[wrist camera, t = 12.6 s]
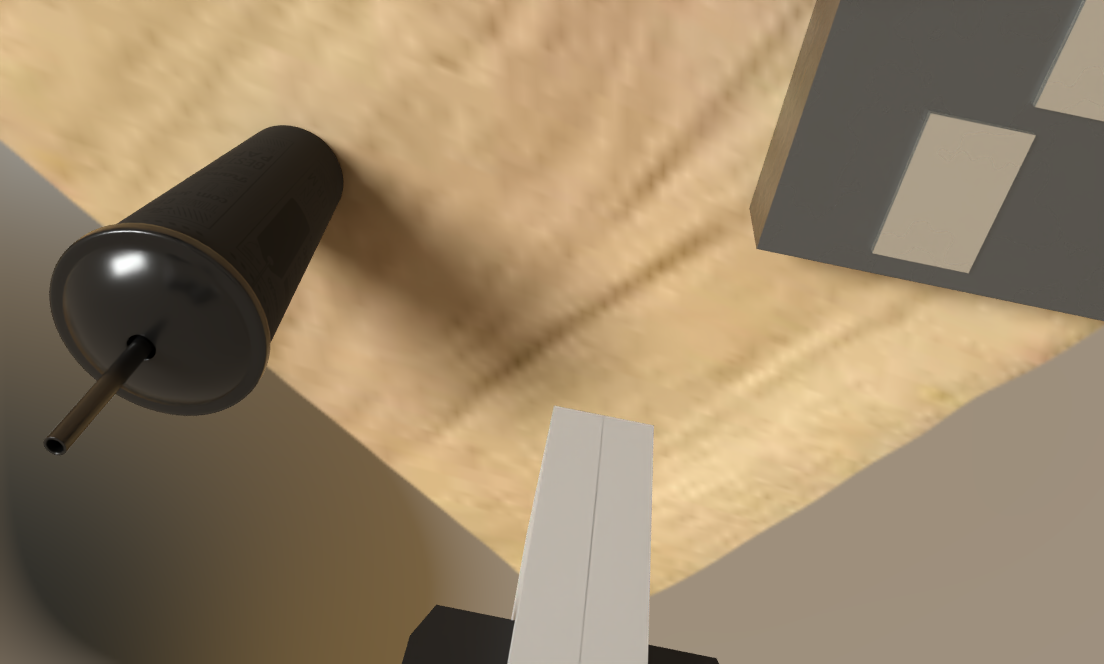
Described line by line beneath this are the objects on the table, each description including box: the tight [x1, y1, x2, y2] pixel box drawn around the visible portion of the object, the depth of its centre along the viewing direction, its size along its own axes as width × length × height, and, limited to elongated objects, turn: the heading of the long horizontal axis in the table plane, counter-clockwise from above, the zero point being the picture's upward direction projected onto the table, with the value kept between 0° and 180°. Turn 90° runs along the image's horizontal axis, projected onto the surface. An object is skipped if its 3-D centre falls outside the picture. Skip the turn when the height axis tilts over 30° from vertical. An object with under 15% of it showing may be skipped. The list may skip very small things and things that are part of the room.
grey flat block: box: [750, 0, 1104, 321], centre depth 34 cm, size 20×15×5 cm
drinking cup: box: [44, 125, 343, 455], centre depth 35 cm, size 8×8×20 cm
